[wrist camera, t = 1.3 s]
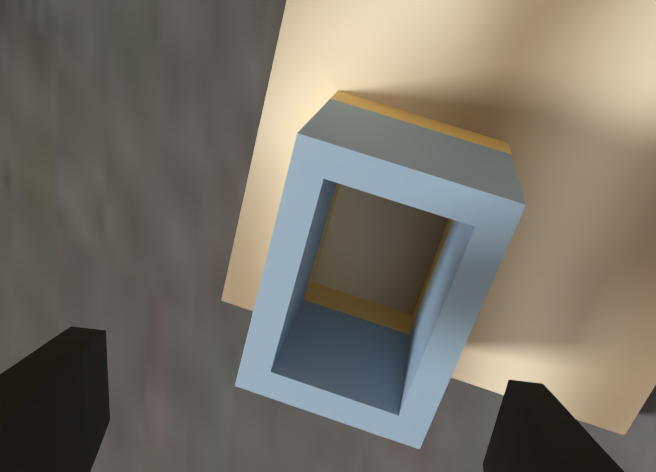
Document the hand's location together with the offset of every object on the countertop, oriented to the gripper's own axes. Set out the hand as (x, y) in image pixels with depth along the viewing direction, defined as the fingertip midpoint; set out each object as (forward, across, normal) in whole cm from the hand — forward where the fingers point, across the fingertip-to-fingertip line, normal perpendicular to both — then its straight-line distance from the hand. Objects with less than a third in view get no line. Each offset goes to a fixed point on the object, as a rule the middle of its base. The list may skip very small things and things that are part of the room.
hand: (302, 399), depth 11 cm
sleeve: (+9, -2, 0) cm, 9 cm away
